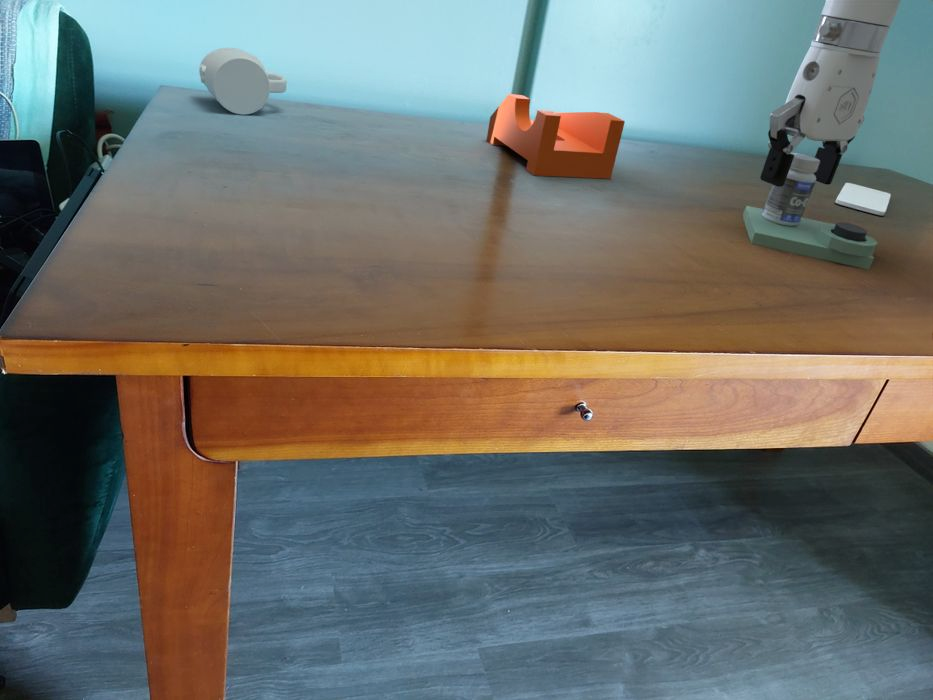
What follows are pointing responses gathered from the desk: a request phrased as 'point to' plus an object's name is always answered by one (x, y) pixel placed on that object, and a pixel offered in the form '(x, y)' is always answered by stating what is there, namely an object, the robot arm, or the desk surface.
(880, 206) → the smartphone
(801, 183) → the pill bottle
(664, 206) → the desk surface
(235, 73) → the mug
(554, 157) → the tape dispenser
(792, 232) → the scale
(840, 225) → the scale button
